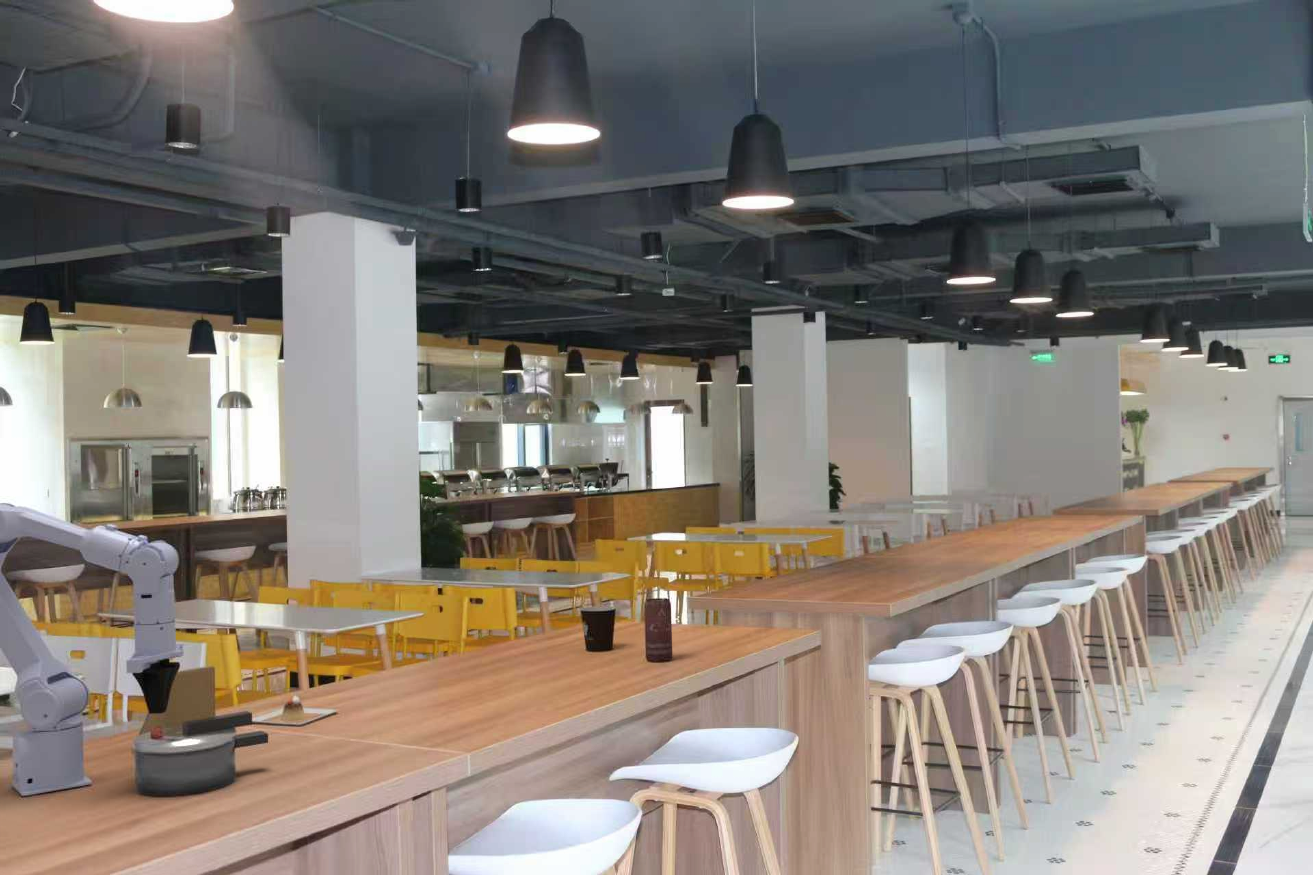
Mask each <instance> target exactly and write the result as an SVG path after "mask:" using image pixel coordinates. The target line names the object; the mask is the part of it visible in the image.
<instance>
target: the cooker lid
mask: <svg viewBox="0 0 1313 875" xmlns="http://www.w3.org/2000/svg"><path fill="white" fill-rule="evenodd" d="M252 719H253V713H252V712H250V711H247V710H245V711H239V712H234V713H228V714H227V713H226V714H222V715H217V716H216V715H215V717H209V718H204V719H198V720H192V721H186V722H182V726H178V727H171V728H165V729H162V727H153V728H150V732H148V733H144V734H142V735H139V734H138V735H139V736H137V735H136V737H134V738H133V739H132V748H133V749H134V750H135V751H138V752H142V753H150V754H172V753H184V752H193V751H199V750H205V749H210V748H214V747H218V746H222V745H225V744H227V743H230V742H232V741H233V740H235V739H236V735H237V729H236V728H240V727H247V726H252V725H253V723H252Z"/></svg>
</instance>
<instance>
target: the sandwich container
mask: <svg viewBox="0 0 1313 875" xmlns="http://www.w3.org/2000/svg"><path fill="white" fill-rule="evenodd" d="M215 716H216V668H215V666H214V665H209V666H200V667H194V668H185V669H182V670H181V669H180V670H178V672H177V674H176V676H175V678H174V681H173V684H172V687H171V691H170V696H169V701H168V706H167V710H166V712H164V713H158V714H149V711H148V712H147V715H146V717H145V719H144V722H143V724H142V727H141V729H140V731H139V733H138V736H139V735H142V734H144V733H148V732H150V728H153V727H162V729H165V728H171V727H178V726H182V722H186V721H192V720H198V719H204V718H209V717H215ZM130 753H132V754H134V755H135V750H134V749H133V747H132V748H131V751H130Z"/></svg>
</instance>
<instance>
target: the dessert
mask: <svg viewBox="0 0 1313 875" xmlns="http://www.w3.org/2000/svg"><path fill="white" fill-rule="evenodd" d="M291 699H292V700H291ZM339 711H340V709H331V708H330V709H328V708H326V709H325V708H308V707H304V706H303V704H302V702H301V701H300V698H299V697H298V696H297V695H293V697H292V696H290V698H289V700H287V701H286V703H285V704H284V705H283V708H280V709H278V710H273V711H272V712H269V713H266V714H265V713H264V714H262V715H259V716H256V717H254V718H253V717H252V724H260V725H261V724H262V725H277V726H279V725H280V726H292V727H293V726H294V727H302V726H303V725H306V724H310V723H312V722H315V721H317V720H320V719H323V718H326V717H329V716H331V715H332V716H333V715H334V714H336V713H337V712H339ZM306 714H316V715H317V714H321V715H320V716H317V717H314V718H312V719H308V720H305V719H306V718H307V715H306ZM280 715H281V717H280V721H281V722H280V721H279V722H278V721H267V720H268V719H271V718H274V717H277V716H280ZM265 720H266V721H265ZM302 720H305V721H304V722H303V721H302ZM283 721H284V722H283ZM295 721H302V722H300V723H299V722H297V723H296V722H295Z"/></svg>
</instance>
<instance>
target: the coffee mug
mask: <svg viewBox="0 0 1313 875" xmlns="http://www.w3.org/2000/svg"><path fill="white" fill-rule="evenodd" d="M616 611H617V610H616V607H615V606H589V607H588V606H587V607H581V608H580V615H581V622H582V631H583V638H584V645H585V651H586V652H592V653H602V652H609V651H611V652H612V650H613V646H614V637H615V636H614V633H615V624H616Z"/></svg>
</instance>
